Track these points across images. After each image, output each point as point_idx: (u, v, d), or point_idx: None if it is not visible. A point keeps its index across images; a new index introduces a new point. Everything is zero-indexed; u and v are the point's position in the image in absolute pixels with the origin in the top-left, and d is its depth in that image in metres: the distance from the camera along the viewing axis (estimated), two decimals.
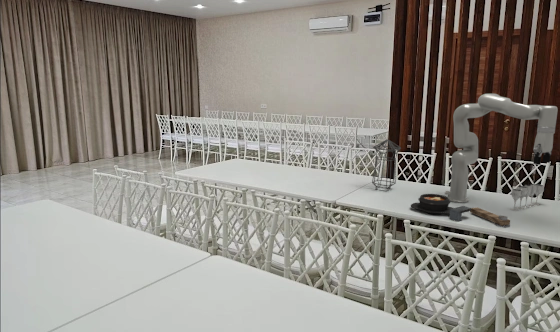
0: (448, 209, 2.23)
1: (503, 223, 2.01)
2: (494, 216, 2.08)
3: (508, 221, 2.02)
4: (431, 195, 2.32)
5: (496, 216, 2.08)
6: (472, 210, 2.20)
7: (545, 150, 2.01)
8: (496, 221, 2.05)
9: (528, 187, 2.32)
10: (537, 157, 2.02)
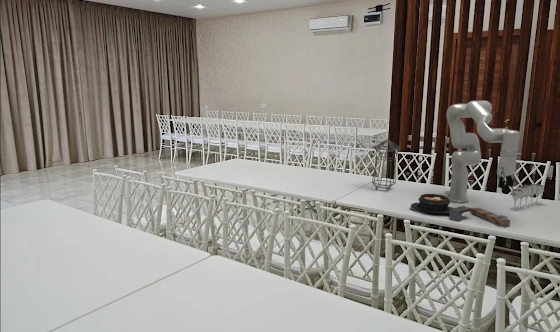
0: (448, 209, 2.23)
1: (503, 223, 2.01)
2: (494, 216, 2.08)
3: (508, 221, 2.02)
4: (431, 195, 2.32)
5: (496, 216, 2.08)
6: (472, 210, 2.20)
7: (508, 173, 2.06)
8: (496, 221, 2.05)
9: (528, 187, 2.32)
10: (501, 181, 2.08)
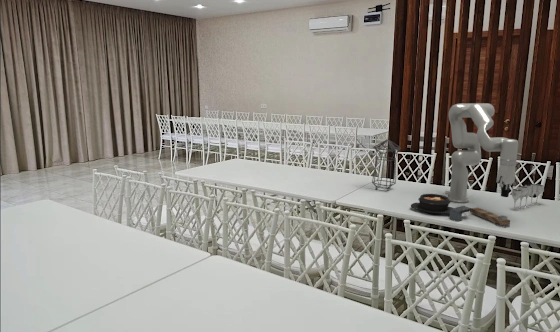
0: (448, 209, 2.23)
1: (503, 223, 2.01)
2: (494, 216, 2.08)
3: (508, 221, 2.02)
4: (431, 195, 2.32)
5: (496, 216, 2.08)
6: (472, 210, 2.20)
7: (507, 182, 2.07)
8: (496, 221, 2.05)
9: (528, 187, 2.32)
10: (504, 190, 2.10)
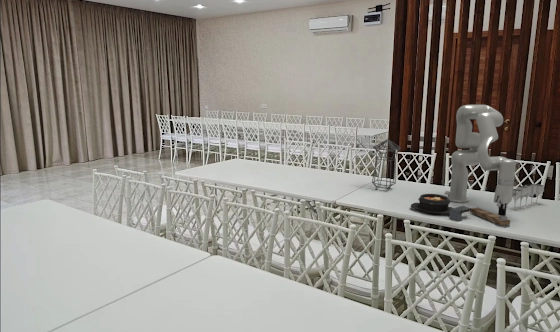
0: (448, 209, 2.23)
1: (503, 223, 2.01)
2: (494, 216, 2.08)
3: (508, 221, 2.02)
4: (431, 195, 2.32)
5: (496, 216, 2.08)
6: (472, 210, 2.20)
7: (504, 201, 2.09)
8: (496, 221, 2.05)
9: (528, 187, 2.32)
10: (501, 209, 2.12)
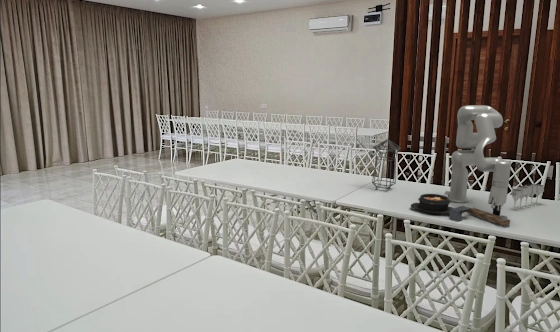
0: (448, 209, 2.23)
1: (504, 223, 2.01)
2: (493, 216, 2.08)
3: (508, 221, 2.02)
4: (431, 195, 2.32)
5: (495, 216, 2.08)
6: (470, 211, 2.19)
7: (499, 203, 2.07)
8: (496, 221, 2.04)
9: (528, 187, 2.32)
10: (495, 211, 2.10)
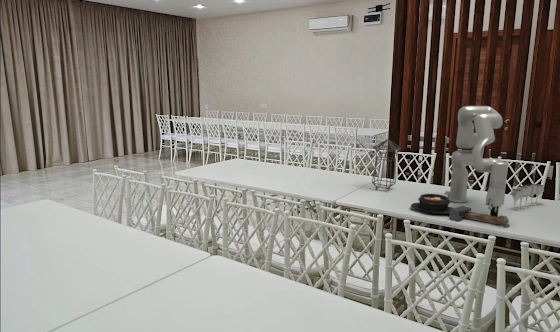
0: (448, 209, 2.23)
1: (506, 223, 2.01)
2: (492, 217, 2.06)
3: (508, 220, 2.03)
4: (431, 195, 2.32)
5: (493, 217, 2.07)
6: (463, 214, 2.13)
7: (496, 204, 2.06)
8: (498, 222, 2.03)
9: (528, 187, 2.32)
10: (493, 212, 2.09)
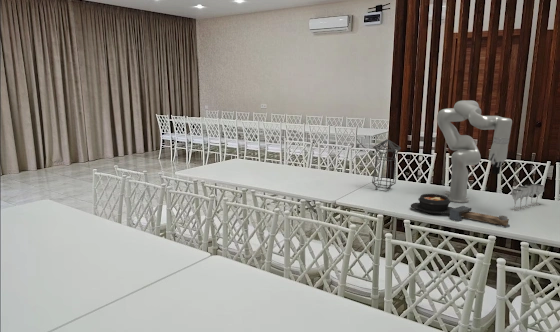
0: (448, 209, 2.23)
1: (506, 223, 2.01)
2: (492, 217, 2.06)
3: (508, 220, 2.03)
4: (431, 195, 2.32)
5: (493, 217, 2.07)
6: (463, 214, 2.13)
7: (499, 160, 2.14)
8: (498, 222, 2.03)
9: (528, 187, 2.32)
10: (495, 167, 2.17)
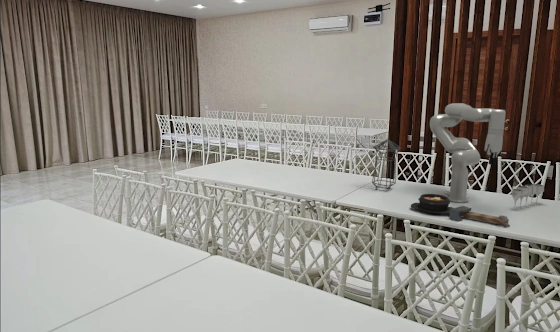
0: (448, 209, 2.23)
1: (506, 223, 2.01)
2: (492, 217, 2.06)
3: (508, 220, 2.03)
4: (431, 195, 2.32)
5: (493, 217, 2.07)
6: (463, 214, 2.13)
7: (494, 150, 2.18)
8: (498, 222, 2.03)
9: (528, 187, 2.32)
10: (491, 158, 2.21)
